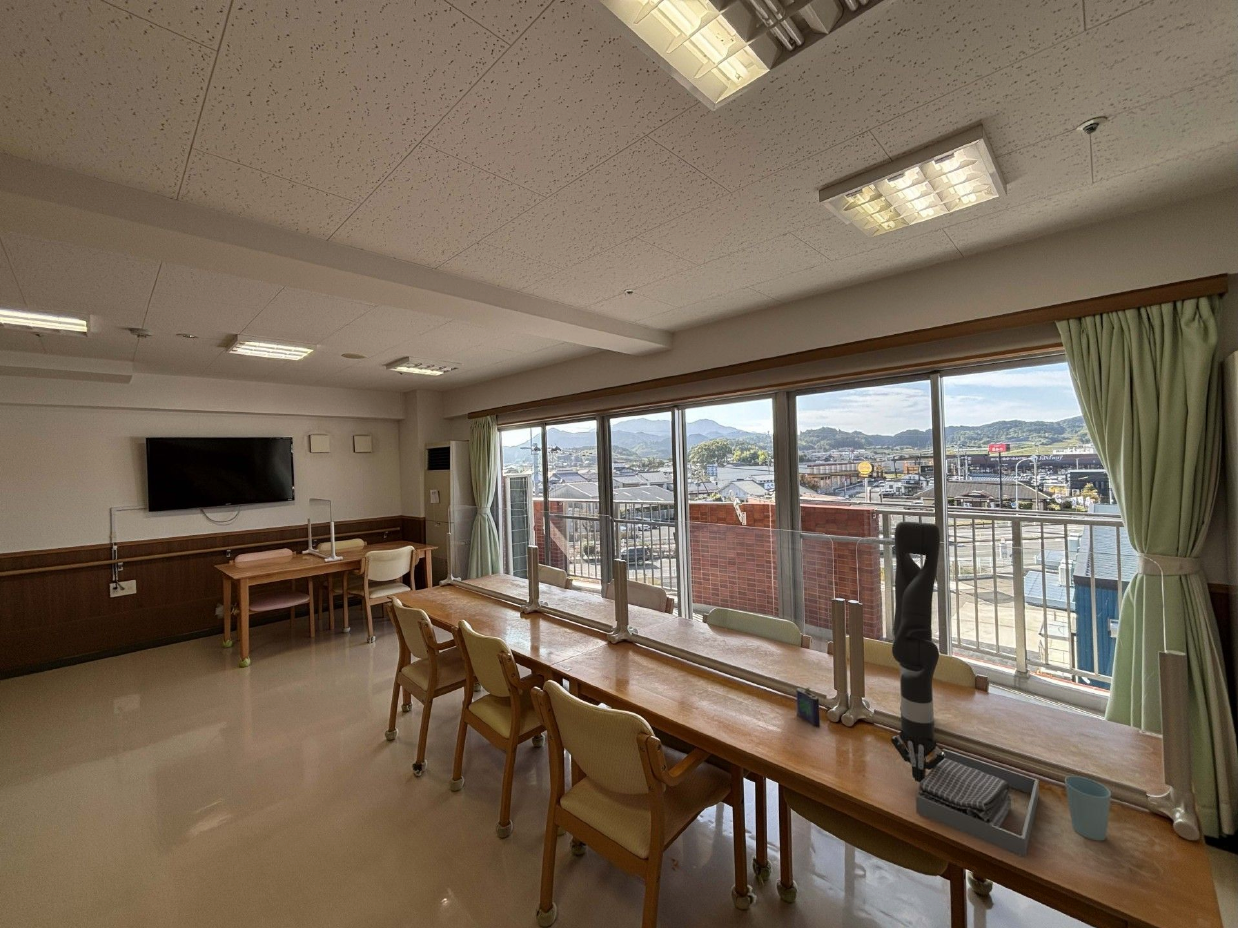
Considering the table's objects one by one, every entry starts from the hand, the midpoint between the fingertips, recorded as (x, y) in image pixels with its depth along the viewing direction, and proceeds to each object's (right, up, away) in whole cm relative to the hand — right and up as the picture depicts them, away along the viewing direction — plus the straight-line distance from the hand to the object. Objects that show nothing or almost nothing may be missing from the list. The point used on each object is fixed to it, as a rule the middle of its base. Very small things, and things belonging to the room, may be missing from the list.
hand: (918, 780), depth 131 cm
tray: (+10, -1, -7) cm, 13 cm away
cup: (+28, -1, -18) cm, 33 cm away
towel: (+6, -2, -9) cm, 11 cm away
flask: (-16, -2, +35) cm, 38 cm away
